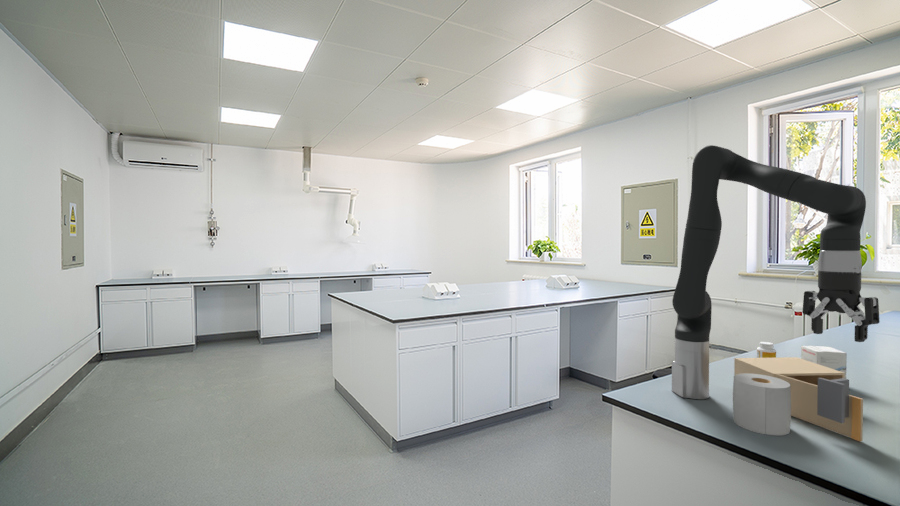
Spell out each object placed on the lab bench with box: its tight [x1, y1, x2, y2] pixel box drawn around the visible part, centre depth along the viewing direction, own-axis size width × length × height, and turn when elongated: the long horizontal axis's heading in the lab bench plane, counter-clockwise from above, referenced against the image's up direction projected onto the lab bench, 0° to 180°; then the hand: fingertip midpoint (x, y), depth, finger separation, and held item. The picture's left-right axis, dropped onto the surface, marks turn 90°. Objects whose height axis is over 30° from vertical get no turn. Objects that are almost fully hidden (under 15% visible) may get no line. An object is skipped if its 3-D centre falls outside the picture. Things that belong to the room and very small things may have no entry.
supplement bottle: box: [756, 341, 777, 358], centre depth 151 cm, size 6×6×10 cm
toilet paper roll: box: [732, 373, 792, 437], centre depth 107 cm, size 12×12×12 cm
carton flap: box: [774, 373, 864, 442], centre depth 106 cm, size 20×6×14 cm, turn 16°
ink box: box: [800, 345, 848, 379], centre depth 137 cm, size 9×8×12 cm
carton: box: [733, 356, 845, 386], centre depth 125 cm, size 20×16×10 cm
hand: (838, 337), depth 100 cm, fingers open, 8 cm apart
